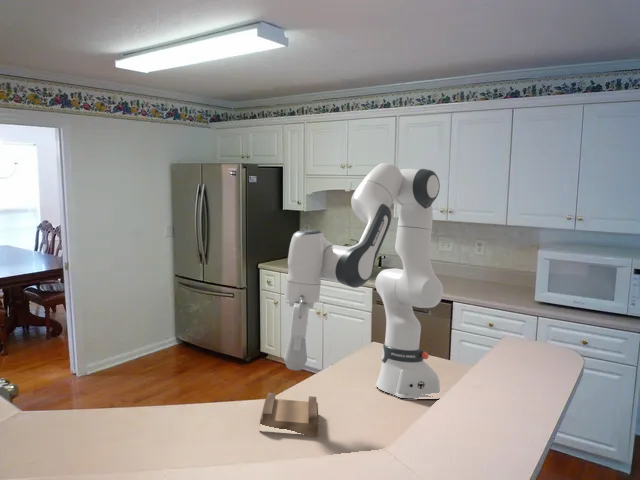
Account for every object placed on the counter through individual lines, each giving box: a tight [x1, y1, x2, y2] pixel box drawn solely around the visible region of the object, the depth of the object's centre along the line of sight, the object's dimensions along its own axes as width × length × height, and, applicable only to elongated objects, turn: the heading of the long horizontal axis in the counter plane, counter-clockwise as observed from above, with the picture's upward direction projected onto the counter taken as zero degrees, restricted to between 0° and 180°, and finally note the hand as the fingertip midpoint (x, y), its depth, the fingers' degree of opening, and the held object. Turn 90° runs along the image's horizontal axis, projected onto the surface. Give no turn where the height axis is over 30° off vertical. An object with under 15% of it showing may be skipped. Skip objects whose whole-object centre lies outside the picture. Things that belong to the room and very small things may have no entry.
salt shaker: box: [283, 317, 309, 371], centre depth 118 cm, size 6×6×13 cm
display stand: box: [259, 392, 320, 438], centre depth 118 cm, size 14×14×4 cm
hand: (296, 347), depth 118 cm, fingers closed on salt shaker, 3 cm apart
